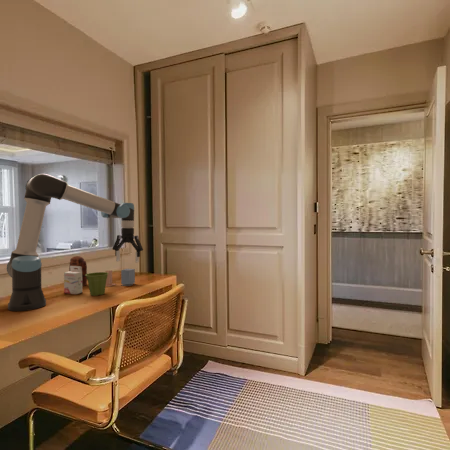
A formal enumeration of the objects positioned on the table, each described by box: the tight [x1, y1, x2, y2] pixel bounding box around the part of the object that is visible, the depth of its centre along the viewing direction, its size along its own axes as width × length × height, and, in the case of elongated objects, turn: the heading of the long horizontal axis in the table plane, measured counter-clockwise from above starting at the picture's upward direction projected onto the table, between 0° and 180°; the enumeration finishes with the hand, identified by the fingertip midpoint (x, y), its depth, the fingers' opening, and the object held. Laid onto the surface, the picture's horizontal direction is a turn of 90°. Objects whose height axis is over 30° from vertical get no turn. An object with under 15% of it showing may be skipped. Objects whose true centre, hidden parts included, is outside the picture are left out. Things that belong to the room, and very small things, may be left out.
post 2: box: [121, 282, 136, 287], centre depth 192 cm, size 6×6×9 cm
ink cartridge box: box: [63, 265, 83, 295], centre depth 172 cm, size 9×5×15 cm, turn 74°
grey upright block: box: [120, 268, 136, 285], centre depth 192 cm, size 6×6×9 cm
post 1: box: [105, 270, 117, 287], centre depth 191 cm, size 6×6×9 cm
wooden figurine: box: [68, 255, 88, 287], centre depth 191 cm, size 12×6×18 cm, turn 86°
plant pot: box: [85, 271, 109, 297], centre depth 169 cm, size 12×12×11 cm
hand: (127, 261), depth 192 cm, fingers open, 13 cm apart
